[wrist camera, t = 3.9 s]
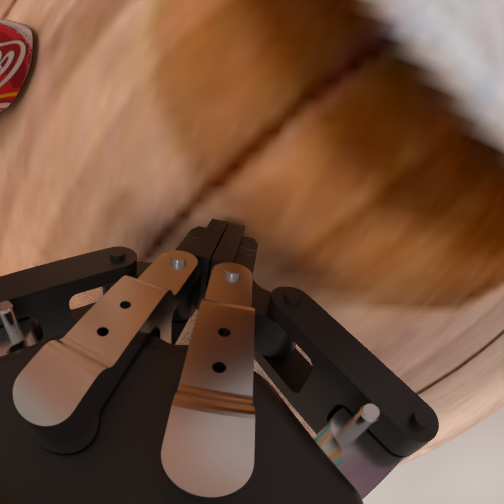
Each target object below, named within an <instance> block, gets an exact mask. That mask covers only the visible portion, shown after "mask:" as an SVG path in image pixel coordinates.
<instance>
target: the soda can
mask: <svg viewBox="0 0 504 504" xmlns="http://www.w3.org/2000/svg"><path fill="white" fill-rule="evenodd" d="M32 48H33V39H32V33H31V30H30V28H29V27H28V26H27V25H25V24H22V23H18V22H14V21H10V20H3V19H0V112H1V111H3V110H5V109H6V108H7V107H8V106H9V105H10V104H11V103H12V101H13V100H14V99H15V97H16V95H17V94H18V92H19V90H20V88H21V86H22V85H23V83H24V81H25V79H26V76H27V74H28V71H29V68H30V64H31V60H32Z"/></svg>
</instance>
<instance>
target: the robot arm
mask: <svg viewBox="0 0 504 504" xmlns="http://www.w3.org/2000/svg"><path fill="white" fill-rule="evenodd" d="M244 231H245V226H244V225H239V224H235V223H230V222H229V224H228V222H225V221H221V220H216V219H212V220H211V222H210V223H209V225H208V226H207V228H204V227H196V228H194V229H192V230H191V231H190V232H189V233H188V235H187V236H186V237H185V238H184V240H183V241H182V242H181V244H180V245H179V246H178V248H177V249H176V250H172V251H167V252H164V253H162V254H161V255H160V256H159V257H158V258H157V259H156V260H155V261H154V262H153V263H148V262H137V255H136V253H135V252H134V251H133V250H131V249H129V248H126V247H111V248H107V249H103V250H99V251H95V252H91V253H87V254H82V255H78V256H75V257H71V258H67V259H63V260H59V261H55V262H51V263H48V264H44V265H40V266H36V267H33V268H29V269H25V270H22V271H18V272H15V273H11V274H8V275H4V276H1V277H0V504H363V501H362V499H363V498H364V497H365V496H366V495H368V494H369V493H370V492H371V491H372V490H373V489H374V488H375V487H376V486H377V485H378V484H379V483H380V482H381V481H382V480H383V479H384V478H385V477H386V476H387V475H388V474H389V473H390V472H391V471H392V470H393V469H394V468H395V466H396V465H397V464H398V463H400V462H401V461H403V460H404V459H406V458H407V457H409V456H410V455H412V454H413V453H414V452H416V451H417V450H419V449H420V448H421V447H423V446H424V445H425V444H427V443H428V442H429V441H431V440H432V439H433V438H434V437H435V436H436V434H437V432H438V428H439V423H438V418H437V416H436V414H435V412H434V411H433V409H432V408H431V407H430V406H429V405H428V404H427V403H426V402H424V401H423V400H422V399H421V398H420V397H419V396H418V395H417V394H416V393H415V392H414V391H412V390H411V389H410V388H409V387H408V386H407V385H406V384H405V383H404V382H403V381H402V380H401V379H399V378H398V377H397V376H396V375H395V374H394V373H393V372H392V371H391V370H390V369H389V368H387V367H386V366H385V365H384V364H383V363H382V362H381V361H380V360H379V359H378V358H376V357H375V356H374V355H373V354H372V353H371V352H370V351H369V350H368V349H367V348H366V347H364V346H363V345H362V344H361V343H360V342H359V341H358V340H357V339H356V338H355V337H353V336H352V335H351V334H350V333H349V332H348V331H347V330H346V329H345V328H344V327H342V326H341V325H340V324H339V323H338V322H337V321H336V320H335V319H334V318H333V317H331V316H330V315H329V314H328V313H327V312H326V311H325V310H324V309H323V308H322V307H320V306H319V305H318V304H317V303H316V302H315V301H314V300H313V299H312V298H310V297H309V296H308V295H307V294H306V293H304V292H303V291H301V290H299V289H296V288H293V287H278V288H276V289H274V290H273V292H272V293H271V292H268V291H266V290H264V289H262V288H261V287H259V286H258V285H257V284H256V283H255V282H254V280H253V275H252V274H253V269H254V264H255V258H256V253H257V248H258V244H257V242H256V241H255V239H253V238H249V237H244ZM101 286H102V289H103V296H102V297H101V298H100V299H99V300H98V301H97V302H95V303H92V304H89V305H86V306H83V307H80V308H76V309H70V307H69V301H70V299H71V297H72V296H74V295H75V294H78V293H81V292H85V291H88V290H91V289H95V288H98V287H101ZM195 309H198V310H199V311H198V314H197V318H196V322H195V325H194V329H193V333H192V336H191V340H190V344H189V346H187V345H180V343H181V341H182V339H183V338H184V336H185V334H186V332H187V330H188V328H189V326H190V325H191V322H192V315H193V314H194V311H195ZM296 344H297V345H298V346H299V347H300V348H301V349H302V350H303V351H304V352H305V353H306V354H307V356H308V357H309V358H310V360H311V362H312V365H311V364H310V363H309V362H308V361H307V360H306V359H305V358H304V357H303V356H302V355H301V353H300V352H299V351H298V350H297V349H296V348H295V346H296ZM254 357H255V359H256V361H257V362H258V364H259V365H260V366H261V367H262V369H263V370H264V371H265V373H266V374H267V375H268V376H269V378H270V379H271V380H272V381H273V383H274V384H275V385H276V386H277V388H278V389H279V390H280V391H281V392H282V394H283V395H284V396H285V397H286V399H287V400H288V401H289V402H290V403H291V405H292V406H293V407H294V408H295V409H296V411H297V412H298V413H299V414H300V415H301V417H302V418H303V419H304V420H305V421H306V422H307V424H308V425H309V426H310V427H311V428H312V429H313V430H314V432H315V433H316V434H317V437H316V442H315V440H314V439H313V438H312V437H311V435H310V434H309V433H308V432H307V430H306V429H305V428H304V427H303V425H302V424H301V423H300V422H299V420H298V419H297V418H296V416H295V415H294V414H293V413H292V411H291V410H290V409H289V407H288V406H287V405H286V403H285V402H284V401H283V399H282V398H281V397H280V396H279V394H278V393H277V391H276V390H275V389H274V388H273V386H272V385H271V384H270V383H269V382H268V381H267V380H265V379H264V378H263V377H262V376H260V375H259V374H258V373H256V372H255V371H253V368H254Z"/></svg>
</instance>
